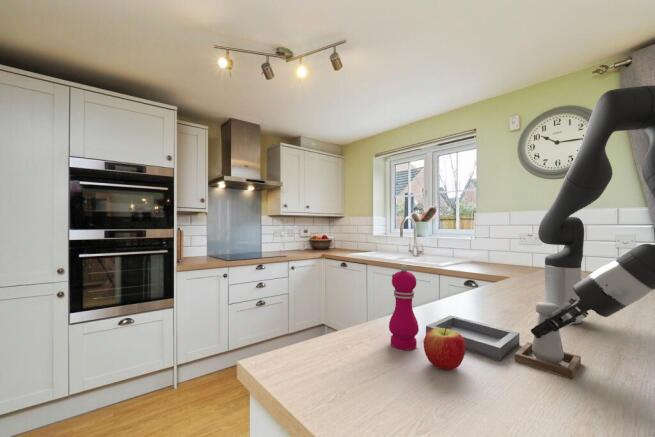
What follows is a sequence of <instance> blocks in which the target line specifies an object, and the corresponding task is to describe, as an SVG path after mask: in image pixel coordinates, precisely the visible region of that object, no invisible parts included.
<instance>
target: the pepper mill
mask: <svg viewBox="0 0 655 437" xmlns="http://www.w3.org/2000/svg"><path fill="white" fill-rule="evenodd" d="M391 284H392V287H393V288H394V290H393V296H394V298H395V305H394V307H395V308H394V310H393V313H392V315H391V317H390V319H389V322H388V329H389V331H390V333H391V335H390V345H391V346H392V347H393V348H395V349H397V350H402V351H411V350H414V349H416V348H417V338H416V336H417V335H418V333H419V331H420V330H419V328H420V327H419V324H418V320H417V318H416V315H415V313H414V309H413V299H414V297H415V292H414V289H415V288H416V286H417V278H416V276H415V275H414V273H412V272H410V271H409V270H408V266H407V265H406V264H401V266H400V271H399V270H398V271H396V272H395V273H394V274H393V275H392V278H391Z"/></svg>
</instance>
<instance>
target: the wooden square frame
mask: <svg viewBox="0 0 655 437" xmlns="http://www.w3.org/2000/svg"><path fill="white" fill-rule="evenodd" d="M532 344H533V342H528V341H526V343H525V344H524V345H523V346H522V347H520V348H519V349H518V350H517V351H516V352H515V353H514V361H515V362H518V363H521V364H524V365H527V366H530V367H534V368H537V369H539V370H543V371H545V372H550V373H552V374H555V375H559V376H562V377H565V378H568V379H573V378H574V377H575V375H576V373H577V371H578V369H579V368H580V365H582V364H581V362H582V359H581V358H582V356H581V355H579V354H574V353H569V352H565V351H564V358H563V359H562V360H563V361H565V362H568V365H567V367H566V366H563V365H560V364H558V365H556V364H553V363H549V362H546V361H543V360H539V359H536V357H532V356H529V355H528V354H529V353H531V352H533V351H532ZM562 360H561V361H562Z"/></svg>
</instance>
